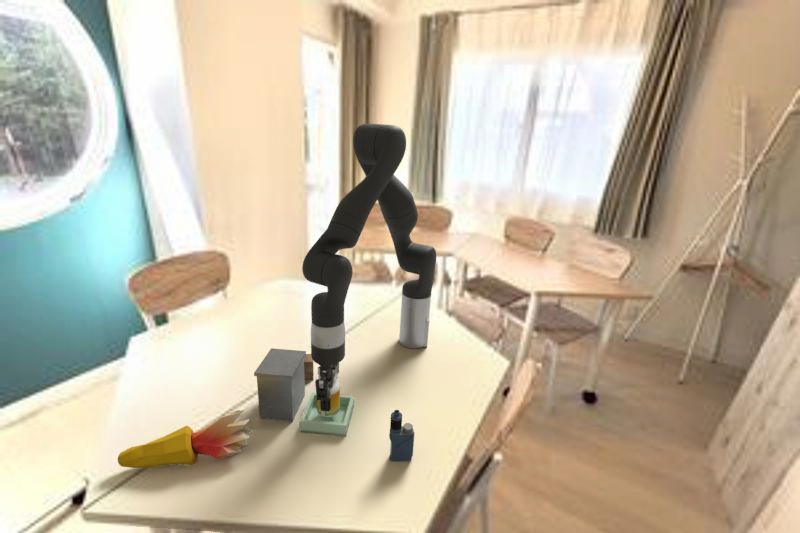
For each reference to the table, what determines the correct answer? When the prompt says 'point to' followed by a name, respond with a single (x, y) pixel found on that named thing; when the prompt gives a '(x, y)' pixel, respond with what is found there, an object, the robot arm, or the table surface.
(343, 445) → the table surface
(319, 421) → the tray
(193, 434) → the torch
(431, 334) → the table surface
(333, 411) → the supplement bottle
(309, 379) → the walnut block
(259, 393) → the box
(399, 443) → the vaping device
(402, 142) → the robot arm
